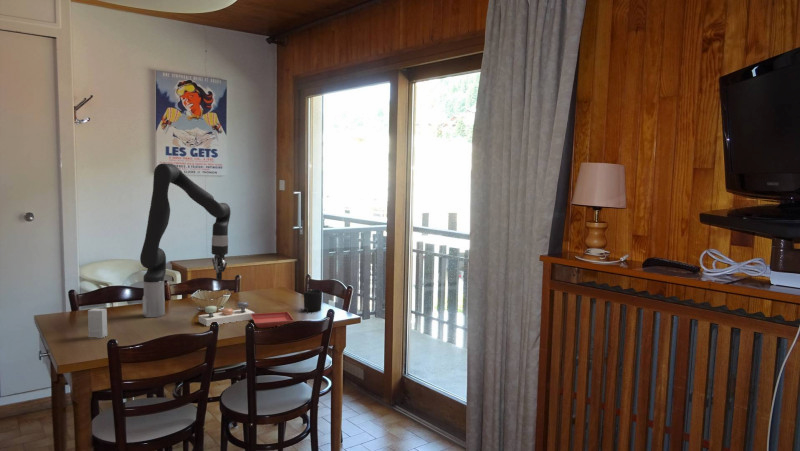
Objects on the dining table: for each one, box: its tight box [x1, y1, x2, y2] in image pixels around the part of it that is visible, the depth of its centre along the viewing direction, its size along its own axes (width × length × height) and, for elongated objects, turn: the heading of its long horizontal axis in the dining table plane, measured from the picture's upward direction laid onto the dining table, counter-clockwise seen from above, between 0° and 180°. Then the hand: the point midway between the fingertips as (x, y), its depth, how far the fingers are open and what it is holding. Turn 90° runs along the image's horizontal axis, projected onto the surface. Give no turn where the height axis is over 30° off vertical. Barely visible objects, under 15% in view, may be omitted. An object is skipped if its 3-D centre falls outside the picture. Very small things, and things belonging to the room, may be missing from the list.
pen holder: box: [303, 289, 323, 313], centre depth 292 cm, size 9×9×10 cm
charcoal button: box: [237, 301, 249, 313], centre depth 274 cm, size 5×5×5 cm
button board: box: [198, 308, 256, 327], centre depth 269 cm, size 24×10×3 cm, turn 130°
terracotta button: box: [221, 307, 234, 315], centre depth 269 cm, size 5×5×5 cm
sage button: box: [204, 305, 218, 317], centre depth 263 cm, size 5×5×5 cm
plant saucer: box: [251, 311, 295, 329], centre depth 266 cm, size 18×18×3 cm
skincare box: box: [87, 308, 108, 339], centre depth 237 cm, size 6×4×12 cm
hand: (219, 279), depth 270 cm, fingers closed
